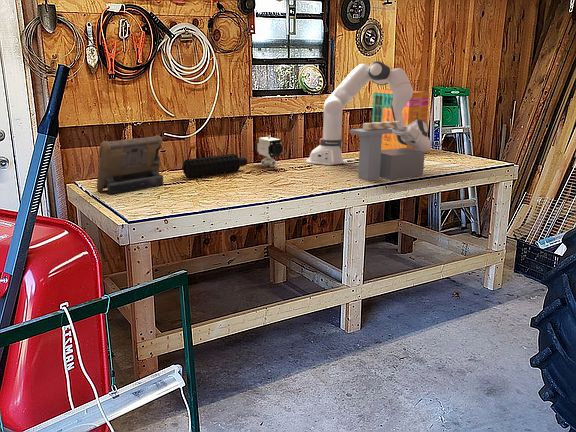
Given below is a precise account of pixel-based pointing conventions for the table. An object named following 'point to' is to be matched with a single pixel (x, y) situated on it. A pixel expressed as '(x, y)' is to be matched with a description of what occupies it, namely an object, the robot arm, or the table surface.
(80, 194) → the table surface
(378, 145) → the stand
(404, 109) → the orange green grid box
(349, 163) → the table surface
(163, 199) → the table surface
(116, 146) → the tablet
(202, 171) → the roller
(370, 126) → the bar
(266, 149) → the white security camera
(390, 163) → the block
